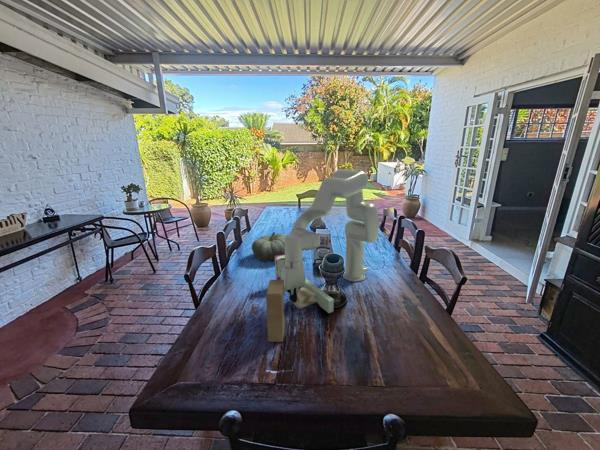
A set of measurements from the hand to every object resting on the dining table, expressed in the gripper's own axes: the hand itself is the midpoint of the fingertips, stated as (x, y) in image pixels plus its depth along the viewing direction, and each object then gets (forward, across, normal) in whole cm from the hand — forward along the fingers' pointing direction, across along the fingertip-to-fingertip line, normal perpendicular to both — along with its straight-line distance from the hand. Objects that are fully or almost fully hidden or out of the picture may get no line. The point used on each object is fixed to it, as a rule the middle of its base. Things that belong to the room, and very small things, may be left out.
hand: (293, 301), depth 124 cm
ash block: (+3, -6, -2) cm, 7 cm away
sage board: (+3, -12, +1) cm, 12 cm away
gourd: (+3, -16, -56) cm, 58 cm away
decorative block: (+4, +14, +12) cm, 19 cm away
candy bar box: (+3, -7, -19) cm, 21 cm away
